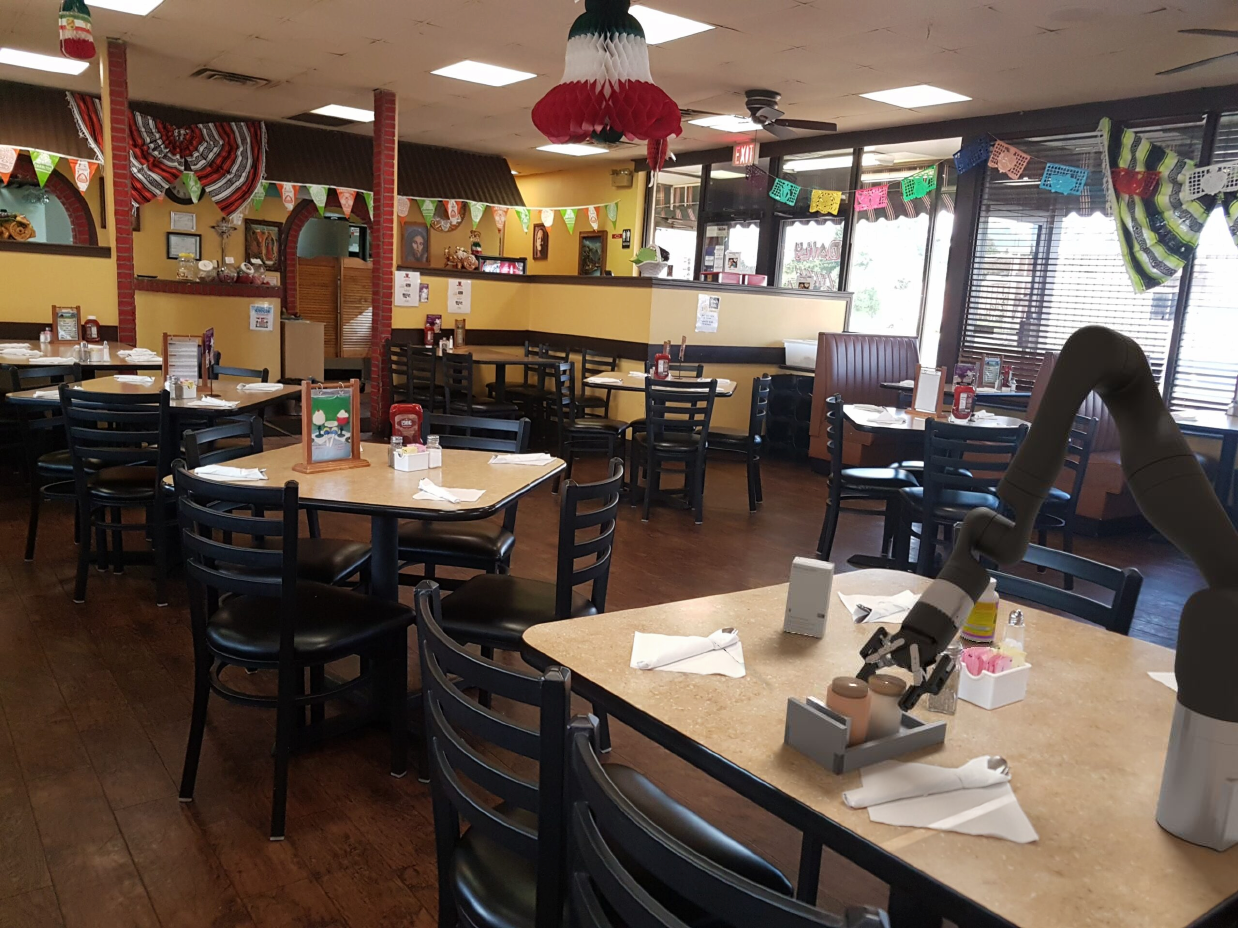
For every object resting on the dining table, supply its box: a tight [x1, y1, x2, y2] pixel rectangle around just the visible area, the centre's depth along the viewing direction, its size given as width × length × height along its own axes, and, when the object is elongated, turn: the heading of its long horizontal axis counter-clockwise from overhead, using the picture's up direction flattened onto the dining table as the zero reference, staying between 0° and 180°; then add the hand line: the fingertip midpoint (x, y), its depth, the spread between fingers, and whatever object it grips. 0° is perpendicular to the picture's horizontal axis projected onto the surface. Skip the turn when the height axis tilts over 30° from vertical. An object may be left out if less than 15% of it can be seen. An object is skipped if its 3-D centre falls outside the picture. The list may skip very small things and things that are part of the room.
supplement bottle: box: [959, 577, 1000, 643], centre depth 190 cm, size 7×7×13 cm
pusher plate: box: [805, 695, 851, 749], centre depth 135 cm, size 8×2×7 cm, turn 33°
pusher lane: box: [783, 696, 948, 776], centre depth 140 cm, size 11×23×8 cm, turn 123°
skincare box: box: [782, 556, 836, 639], centre depth 188 cm, size 8×6×15 cm
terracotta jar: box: [825, 675, 872, 748], centre depth 137 cm, size 6×6×10 cm
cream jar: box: [867, 673, 908, 741], centre depth 141 cm, size 6×6×9 cm
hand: (879, 697), depth 140 cm, fingers open, 8 cm apart
